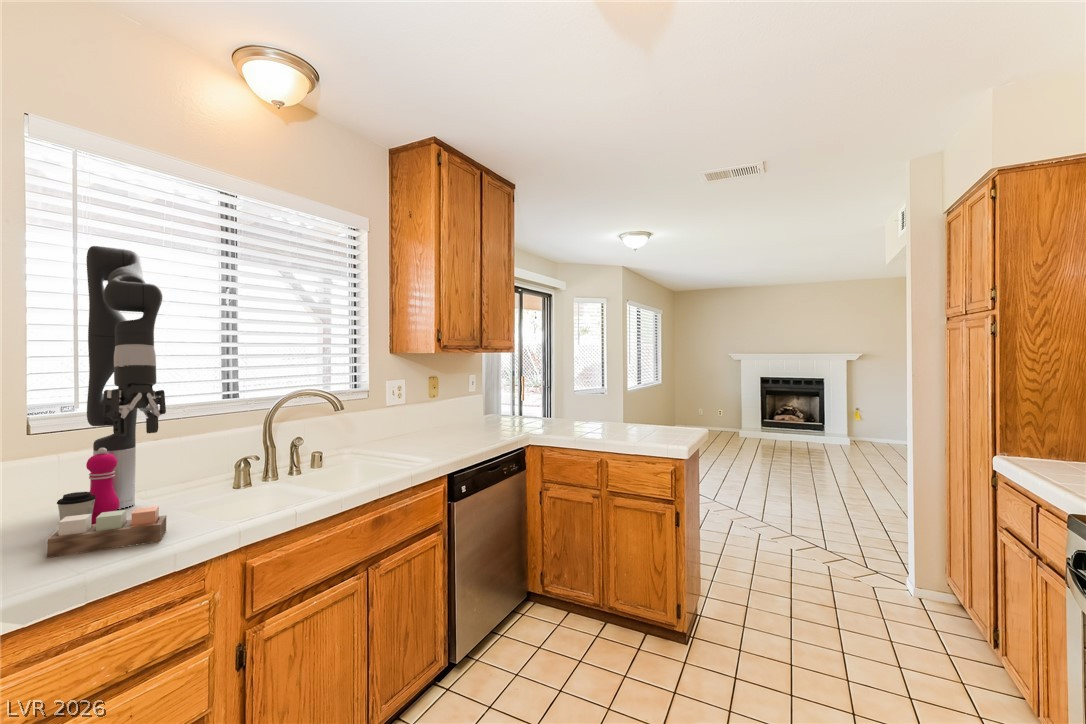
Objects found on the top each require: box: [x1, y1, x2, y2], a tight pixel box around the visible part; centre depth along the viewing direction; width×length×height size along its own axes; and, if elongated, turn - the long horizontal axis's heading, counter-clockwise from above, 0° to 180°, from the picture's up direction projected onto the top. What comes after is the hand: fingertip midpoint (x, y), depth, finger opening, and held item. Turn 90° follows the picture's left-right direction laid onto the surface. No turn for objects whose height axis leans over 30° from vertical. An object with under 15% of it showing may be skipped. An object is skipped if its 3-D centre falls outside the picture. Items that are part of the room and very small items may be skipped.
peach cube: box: [130, 505, 160, 526], centre depth 114 cm, size 4×4×4 cm
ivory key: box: [58, 514, 92, 536], centre depth 108 cm, size 4×4×4 cm
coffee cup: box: [56, 491, 96, 522], centre depth 116 cm, size 7×7×10 cm
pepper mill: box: [85, 448, 120, 524], centre depth 125 cm, size 7×7×20 cm
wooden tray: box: [46, 514, 167, 558], centre depth 111 cm, size 19×8×4 cm, turn 121°
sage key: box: [96, 509, 127, 531], centre depth 111 cm, size 4×4×4 cm
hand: (136, 434), depth 110 cm, fingers open, 8 cm apart
